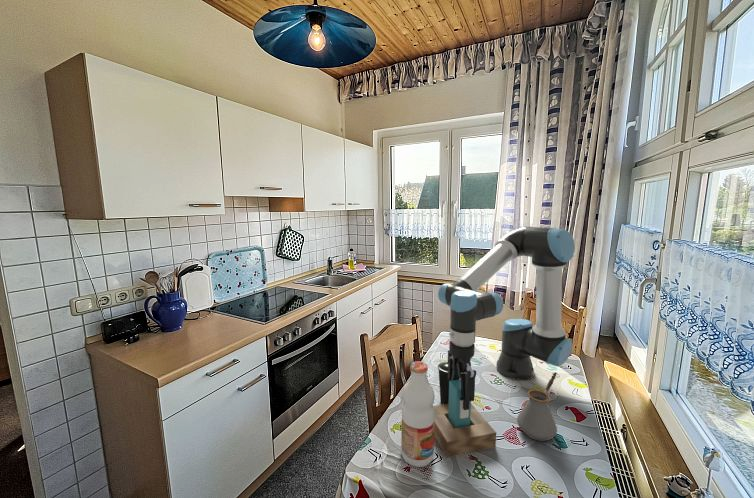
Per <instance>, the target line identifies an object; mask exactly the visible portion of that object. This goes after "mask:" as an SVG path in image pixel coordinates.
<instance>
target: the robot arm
mask: <svg viewBox="0 0 754 498" xmlns="http://www.w3.org/2000/svg"><path fill="white" fill-rule="evenodd" d="M574 239H575V238H574V237H573V235H572V234H571V233H570V232H569V231H568V230H567V229H564V228H557V227H543V226H542V227H539V226H537V227H535V226H523V227H519V228H517V229H514V230H512V231H510V232H508V233H507V234H505V235H503V236H502V237H501V238H500V239H498V240H497V241H496V242H495V244H494V247H493V248H492V249H491V250H489V251H488V252H487V253H486V254H485V255H484V256H483V257H482V258H480V259H479V260H478V261H477V262H476V263H475V264H474V265H472V267H470V268H469V269H468V270H466V272H464V274H462V275H461V276H460V277H458V279H456V280H455V281H454V282H453V283H447V282H446V283H444V284H442V285H441V286H440V287H439V289H438V291H437V297H438V299H439V301H440V302H441V303H443V304H444V305H447V306H448V307H449V308H450V310H449V311H450V313H449V314H450V316H449V318H450V321H449V322H450V323H449V324H450V325H449V333H448V335H449V347H448V349H449V352H448V351H447V362H448V381H453V380H460V382H461V394H462V398H460V414H459V417H460V419H462V418H468V417H469V401H471V402H474V401H475V396H476V395H475V392H476V391H475V390H476V376H477V370H476V369H473V368H472V362H471V359H472V358H473V357H474V356H475V349H476V348H475V346H476V345H475V343H476V328H477V327H476V326H477V321H481V320H483V319H488V318H493V317H495V316H497V315H500V314H501V313H502V311H503V309H504V301H503V298H502V297H501V296H500V295H499V294H498V293H496V292H494V291H491V292H489V291H488V292H485V293H483V292H480V291H478V290H480V288H482V287H483V286H484V285H485V284H486V283H487V282H488V281H490V280H491V278H492V277H494V275H496V274H497V273H498V272H499V271H500V270H501V269H502V268H503V267H504V266H506V265H507V264H508V263H509V262H511V261H514V260H516V259H517V258H518V257H530V258H531V265H532V266H534V267H535V277H536V278H535V279H536V280H535V281H536V282H535V283H536V285H535V292H536V293H535V294H536V297H535V305H536V306H535V309H536V311H535V313H536V318H535V321H536V322H535V324H533V322H532V320H529V319H526V318H525V319H524V318H510V319H507V320H505V321H504V322H503V323H502V330H501V331H502V333H501V352H500V354H499V356H498V359H497V361H496V370H497V372H498V373H500V374H501V375H503V376H504V377H507V378H509V379H513V380H520V381H525V380H530V379H532V378H533V377H534V374H535V370H534V365H533V361H532V358H534V359H537V360H539V361H542V362H544V363H546V364H548V365H551V366H554V367H561V366H563V365H564V364H565V363H566V362H567V361H568V359H569V357H570V356H571V353H572V350H573V342H572V339H570V338H568V337H566V336H567V335H566V333H567V332H566V330H565V329H564V328H563V327H562V301H563V300H562V299H563V297H562V293H563V291H562V290H563V268H564V267H566V266H567V265H568V262H570V261H571V260H572V259H573V257H574V253H575V250H576V249H575V246H576V245H575V240H574Z"/></svg>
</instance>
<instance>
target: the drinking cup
mask: <svg viewBox="0 0 754 498" xmlns="http://www.w3.org/2000/svg"><path fill="white" fill-rule="evenodd" d="M448 352H449V350H447V353H448ZM437 369H438V379H439V380H438V382H439V394H440V395H439V397H440V398H439V399H440V403H441V405H443V404H449V381H448V361H446V362H445V361H443V362H440V363H439V364H438V365H437Z"/></svg>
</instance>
